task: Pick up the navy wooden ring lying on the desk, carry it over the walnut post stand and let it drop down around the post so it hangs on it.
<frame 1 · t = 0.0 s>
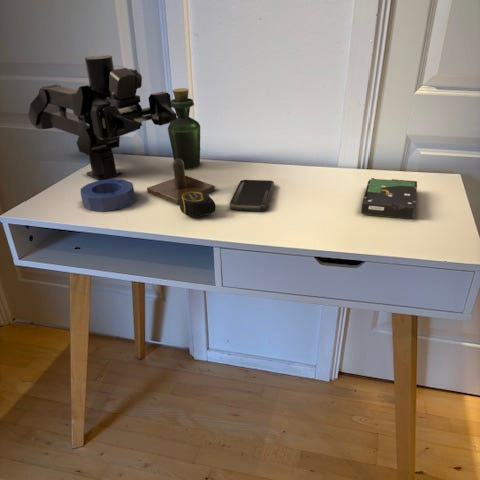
hand: (158, 121, 99), 17 cm above the table, tool horizontal, fingers open, 9 cm apart
phone: (253, 197, 108), on the table
disk drive: (388, 204, 103), on the table
tape measure: (199, 213, 103), on the table
potion bottle: (187, 166, 127), on the table
post: (181, 191, 112), on the table
ring: (109, 201, 109), on the table
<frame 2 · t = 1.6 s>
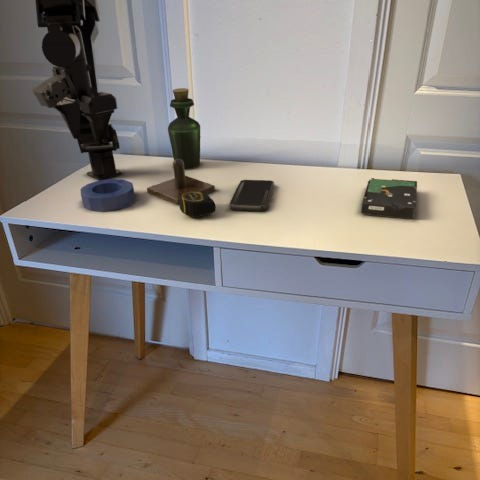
hand: (87, 142, 105), 12 cm above the table, tool pointing down, fingers open, 9 cm apart
nothing on the table moved.
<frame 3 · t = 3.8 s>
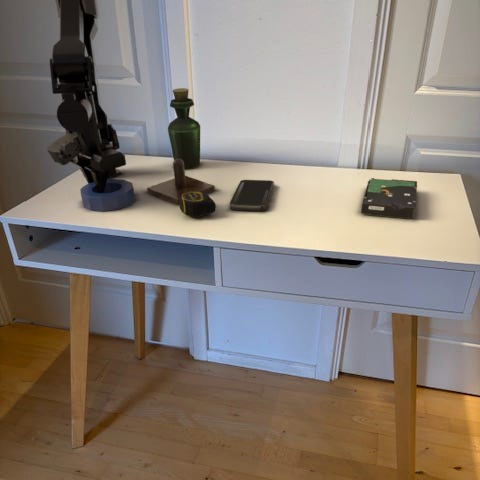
hand: (97, 191, 111), 1 cm above the table, tool pointing down, fingers closed on ring, 2 cm apart
ring: (109, 200, 109), on the table, touching gripper
everything else where it was.
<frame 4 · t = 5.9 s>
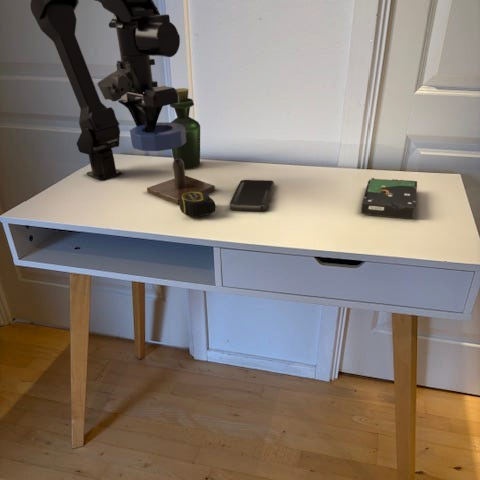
hand: (146, 135, 107), 12 cm above the table, tool pointing down, fingers closed on ring, 2 cm apart
ring: (159, 143, 105), point 11 cm above the table, touching gripper
everything else where it was.
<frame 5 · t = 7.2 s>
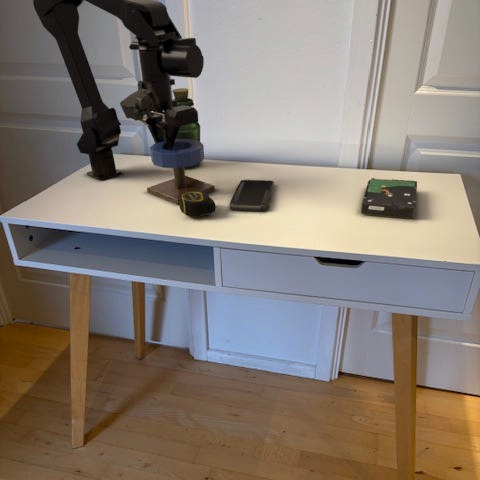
hand: (164, 151, 110), 8 cm above the table, tool pointing down, fingers closed on ring, 2 cm apart
ring: (178, 159, 108), point 7 cm above the table, touching gripper
everything else where it was.
when the fingers open (6 cm above the table, at t = 8.2 s): ring drops 3 cm, resting on post.
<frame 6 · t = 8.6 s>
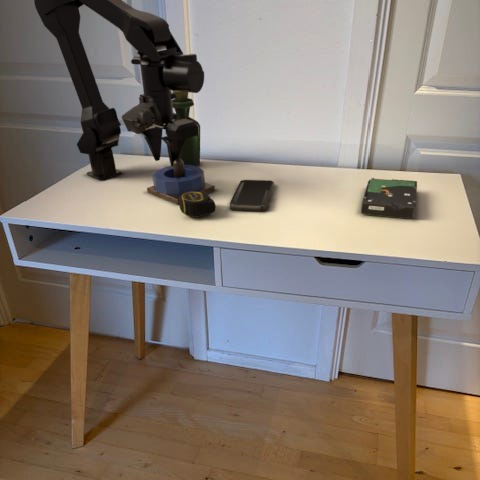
hand: (165, 163, 112), 6 cm above the table, tool pointing down, fingers open, 5 cm apart
ring: (179, 185, 112), point 1 cm above the table, touching post
everything else where it was.
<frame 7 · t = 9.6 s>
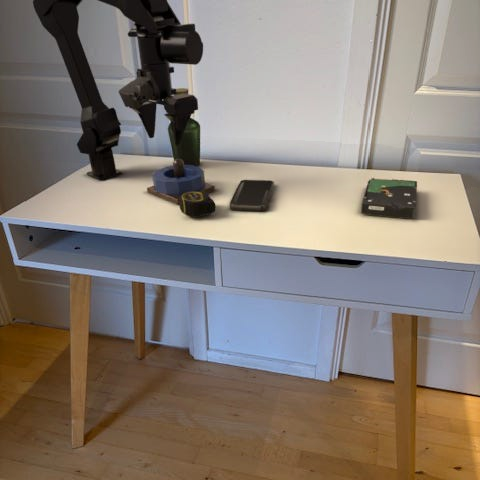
hand: (164, 141, 109), 10 cm above the table, tool pointing down, fingers open, 9 cm apart
nothing on the table moved.
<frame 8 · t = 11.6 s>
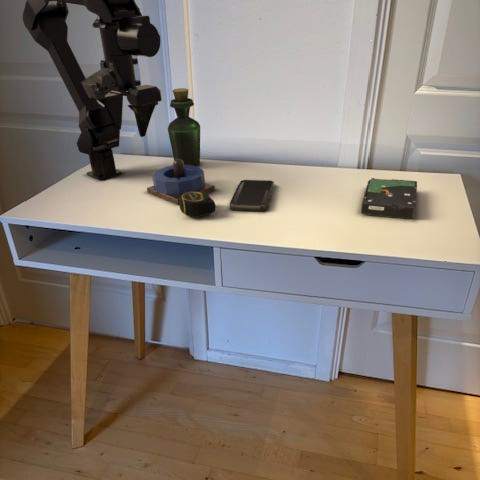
hand: (130, 132, 109), 12 cm above the table, tool pointing down, fingers open, 9 cm apart
nothing on the table moved.
at the end: ring 0.6 cm off-centre on the post, point 1.2 cm above the post's base; ring tilted 0°; the gripper is holding nothing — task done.
